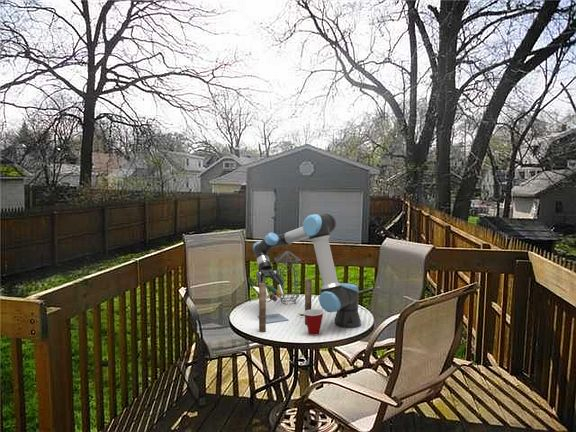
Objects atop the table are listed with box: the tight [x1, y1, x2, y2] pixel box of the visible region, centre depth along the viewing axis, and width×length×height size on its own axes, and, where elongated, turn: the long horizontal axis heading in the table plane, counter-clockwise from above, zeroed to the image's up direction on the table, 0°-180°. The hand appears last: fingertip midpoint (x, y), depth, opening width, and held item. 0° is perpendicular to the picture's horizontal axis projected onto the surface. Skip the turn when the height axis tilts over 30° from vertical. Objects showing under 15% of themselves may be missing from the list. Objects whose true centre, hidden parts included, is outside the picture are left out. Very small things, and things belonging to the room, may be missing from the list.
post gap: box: [258, 278, 313, 333], centre depth 246 cm, size 4×32×26 cm, turn 116°
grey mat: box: [257, 312, 289, 325], centre depth 263 cm, size 14×14×1 cm
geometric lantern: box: [273, 250, 302, 305], centre depth 299 cm, size 16×16×35 cm
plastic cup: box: [303, 308, 325, 336], centre depth 238 cm, size 11×11×12 cm
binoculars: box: [266, 284, 281, 303], centre depth 262 cm, size 9×9×10 cm
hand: (274, 295), depth 260 cm, fingers closed on binoculars, 9 cm apart
